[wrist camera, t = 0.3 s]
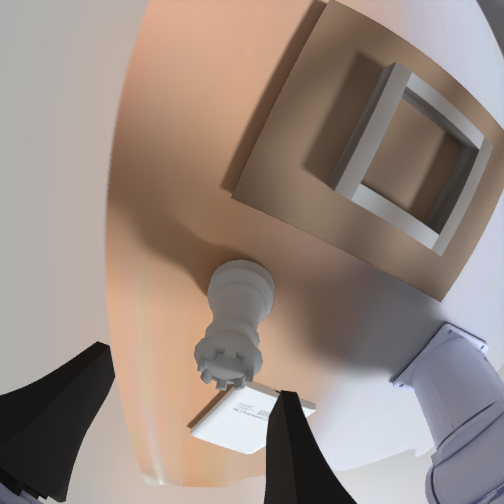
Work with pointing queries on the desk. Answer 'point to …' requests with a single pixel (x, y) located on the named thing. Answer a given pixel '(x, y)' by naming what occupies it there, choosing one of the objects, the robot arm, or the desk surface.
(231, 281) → the rook chess piece
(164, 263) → the desk surface
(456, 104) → the socket board
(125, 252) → the desk surface
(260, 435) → the external hard drive
